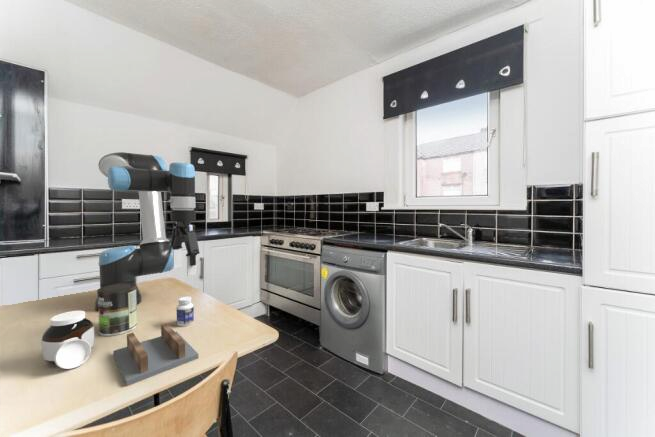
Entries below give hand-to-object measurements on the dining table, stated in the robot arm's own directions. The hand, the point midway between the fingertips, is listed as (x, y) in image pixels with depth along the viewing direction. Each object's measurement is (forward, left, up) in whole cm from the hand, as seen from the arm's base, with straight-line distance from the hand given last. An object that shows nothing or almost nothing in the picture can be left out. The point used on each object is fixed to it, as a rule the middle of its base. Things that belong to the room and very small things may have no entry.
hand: (184, 271), depth 94 cm
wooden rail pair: (+16, -13, -17) cm, 27 cm away
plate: (+16, -13, -18) cm, 27 cm away
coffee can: (-11, -17, -19) cm, 28 cm away
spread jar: (+2, -29, -19) cm, 35 cm away
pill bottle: (0, 0, -19) cm, 19 cm away
